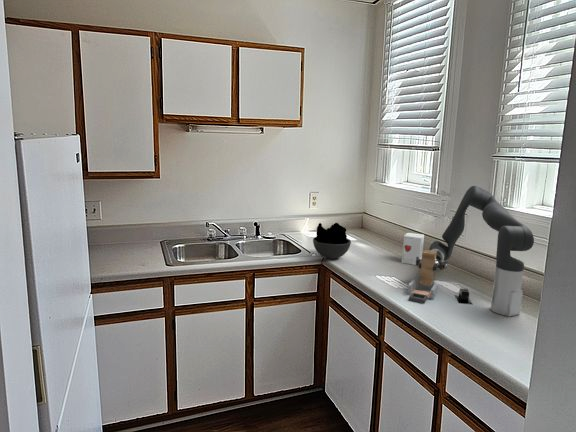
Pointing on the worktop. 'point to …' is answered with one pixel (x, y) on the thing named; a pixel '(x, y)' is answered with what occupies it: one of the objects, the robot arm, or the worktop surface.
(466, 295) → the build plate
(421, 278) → the walnut block
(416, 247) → the supplement box
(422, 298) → the trap pit
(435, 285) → the grey cradle
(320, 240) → the heaped charcoal-grey bowl
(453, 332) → the worktop surface
